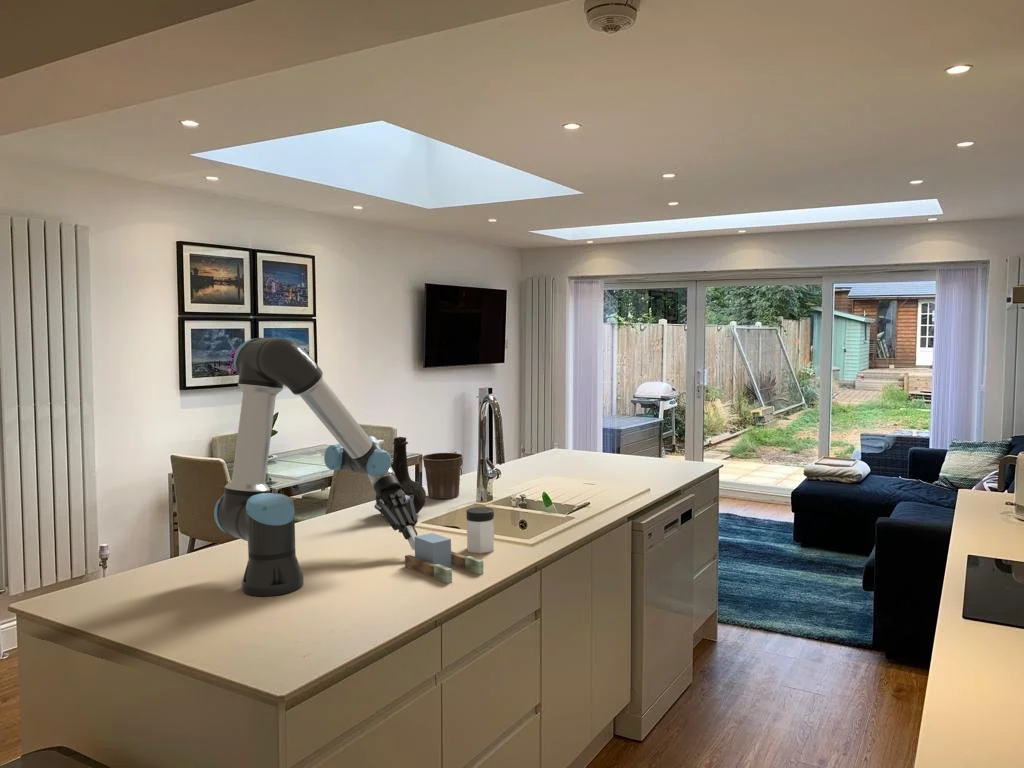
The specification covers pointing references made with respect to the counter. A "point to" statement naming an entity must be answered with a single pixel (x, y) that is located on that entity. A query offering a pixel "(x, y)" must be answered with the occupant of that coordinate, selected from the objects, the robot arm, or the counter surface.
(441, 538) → the block
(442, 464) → the plant pot
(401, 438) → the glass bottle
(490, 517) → the jar
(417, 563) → the chute
